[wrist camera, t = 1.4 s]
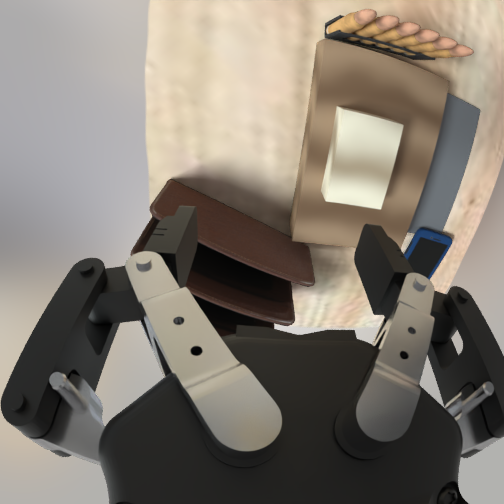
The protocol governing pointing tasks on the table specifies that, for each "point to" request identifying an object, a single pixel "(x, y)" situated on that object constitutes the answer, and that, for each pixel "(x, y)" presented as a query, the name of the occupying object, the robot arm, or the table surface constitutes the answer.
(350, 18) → the ammunition clip
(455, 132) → the mat
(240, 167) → the table surface
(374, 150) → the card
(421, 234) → the cell phone
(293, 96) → the table surface
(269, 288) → the letter holder
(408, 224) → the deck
